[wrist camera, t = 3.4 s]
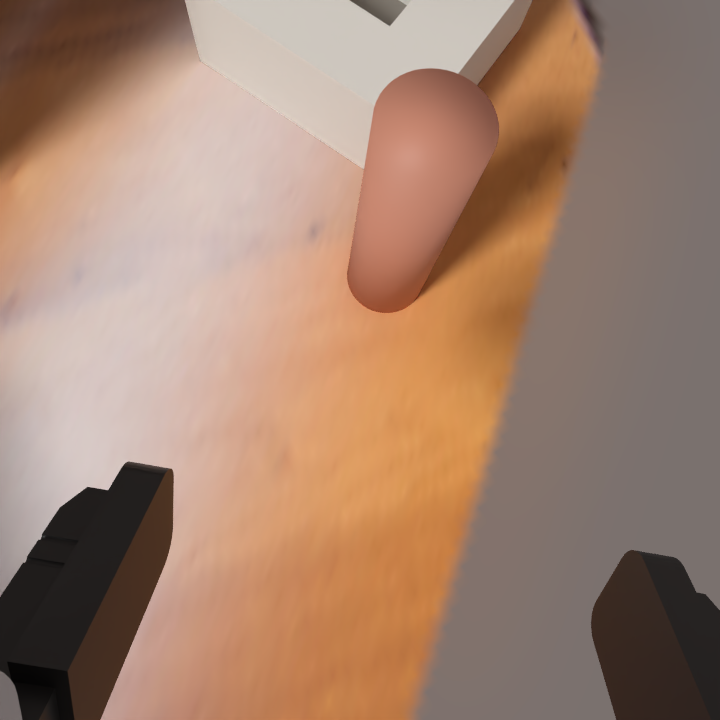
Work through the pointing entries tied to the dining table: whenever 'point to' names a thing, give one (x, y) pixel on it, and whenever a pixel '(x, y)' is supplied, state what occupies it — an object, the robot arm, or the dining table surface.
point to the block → (346, 53)
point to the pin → (416, 181)
